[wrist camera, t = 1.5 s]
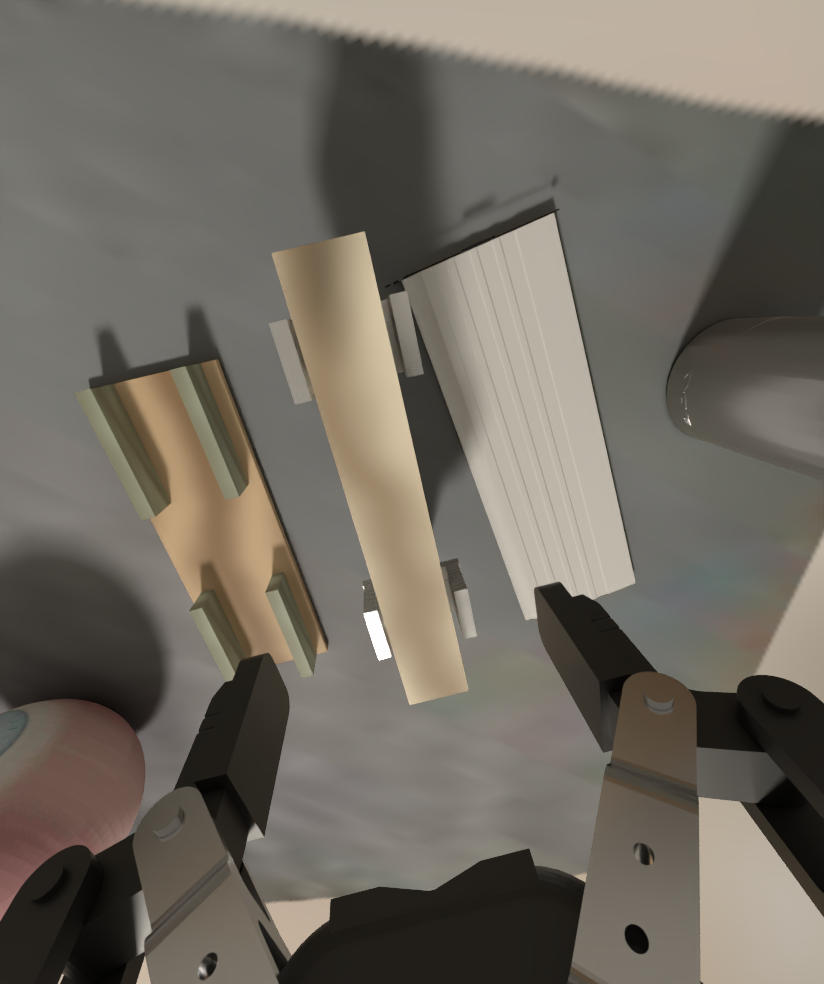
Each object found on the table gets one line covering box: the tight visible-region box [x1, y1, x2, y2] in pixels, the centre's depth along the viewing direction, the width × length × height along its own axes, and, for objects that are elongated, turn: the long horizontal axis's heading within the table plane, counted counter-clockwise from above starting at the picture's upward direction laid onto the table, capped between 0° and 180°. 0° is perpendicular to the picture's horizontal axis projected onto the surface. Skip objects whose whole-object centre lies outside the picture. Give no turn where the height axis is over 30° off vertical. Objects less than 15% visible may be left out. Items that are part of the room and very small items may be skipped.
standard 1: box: [269, 291, 424, 404], centre depth 24 cm, size 6×4×11 cm, turn 102°
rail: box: [272, 231, 469, 705], centre depth 22 cm, size 4×24×5 cm, turn 12°
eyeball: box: [0, 699, 145, 921], centre depth 32 cm, size 15×15×15 cm
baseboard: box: [386, 209, 635, 620], centre depth 33 cm, size 31×3×12 cm
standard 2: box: [363, 558, 477, 660], centre depth 30 cm, size 6×4×11 cm, turn 102°
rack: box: [75, 359, 328, 682], centre depth 32 cm, size 9×26×3 cm, turn 12°
